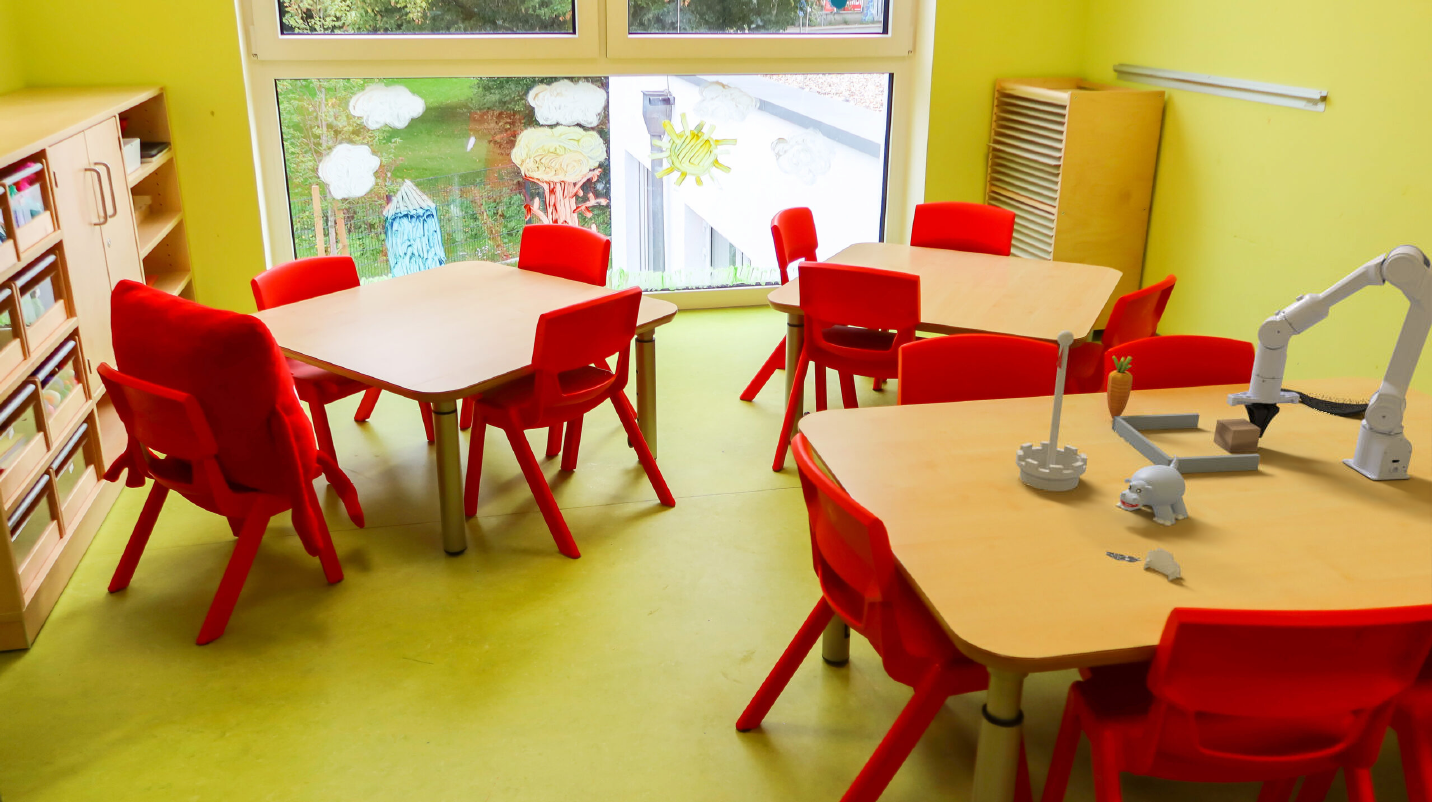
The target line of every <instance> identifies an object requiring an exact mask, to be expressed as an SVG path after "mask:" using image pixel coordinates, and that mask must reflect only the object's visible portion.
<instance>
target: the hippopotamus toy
mask: <svg viewBox="0 0 1432 802" xmlns="http://www.w3.org/2000/svg"><path fill="white" fill-rule="evenodd" d="M1172 456H1173V457H1175V459H1174V461H1173V462H1172V464H1171V465H1170V466H1165V465H1155V464H1154V465H1149V466H1144V467H1141V468H1140V469H1138V470H1137V471H1135V472H1134V474H1133V475H1132V476H1131V477H1130V478H1129V477H1126V478H1124V483H1125V484H1128V483H1129V484H1128V487H1127V489H1125V490H1123V491H1122V492H1120V494H1119V502H1118V503H1116V507H1119V508H1121V509H1122V510H1124V511H1128V512H1133V511H1134V510H1138V509H1140V508H1142V506H1147V505H1148V506H1150V507H1152V509H1153V512H1154V517H1153V519H1152V520H1153V521H1154V522H1156V523H1158V524H1160V525H1164V526H1166V527H1170V526H1171V525H1174V524H1176V520H1179V521H1180V520H1183V519H1186V518H1188V517H1189V514H1188V511H1187V508H1186V505H1185V501H1184V498H1183V496H1184V495H1185V492H1186V482H1185V480H1184V477H1183V476H1182V473H1179V472H1178V471H1177V470H1176V469H1177V467H1178V457H1179V456H1178V455H1176V454H1172Z"/></svg>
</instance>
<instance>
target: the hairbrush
mask: <svg viewBox="0 0 1432 802" xmlns="http://www.w3.org/2000/svg"><path fill="white" fill-rule="evenodd" d="M1280 392H1295V393H1297V394H1298V395H1300V397H1299V400H1301V401H1302V403H1303V404H1305V405H1308V406H1307V407H1309V408H1310V407H1311V408H1312V409H1313V408H1315V409H1317V410H1316V411H1318V410H1319V411H1318V412H1321V411H1323V412H1322V413H1324V412H1327V413H1326V414H1328V413H1330V414H1329V415H1333V414H1334V415H1333V416H1336V415H1338V416H1337V417H1347V416H1355V415H1359V414H1363V413H1365V412H1366V409H1367V408H1368V406H1369V402H1367V401H1368V399H1366V401H1365V399H1362V400H1354V399H1352V400H1351V398H1349V399H1348V400H1347V401H1346V399H1345V398H1341V399H1340V400H1339V398H1338V397H1334V398H1332V400H1331V397H1329V398H1327V396H1326V397H1325V395H1324V394H1323V395H1322V396H1321V395H1317V393H1316V394H1315V396H1311V392H1310V393H1309V394H1308V393H1307V394H1305V393H1304V392H1302V391H1297V390H1294V389H1288V388H1283V387H1281V391H1280ZM1320 396H1321V399H1320ZM1324 397H1325V398H1324ZM1333 400H1334V401H1333ZM1341 400H1343V401H1341ZM1353 401H1354V402H1353ZM1360 402H1361V403H1360ZM1315 409H1314V410H1315Z"/></svg>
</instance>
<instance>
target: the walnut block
mask: <svg viewBox="0 0 1432 802" xmlns="http://www.w3.org/2000/svg"><path fill="white" fill-rule="evenodd" d="M1215 424H1216V425H1215V431H1214V436H1213V443H1214V444H1216V445H1217V446H1219V447H1220V448H1222V449H1223V450H1224V451H1226V452H1228V453H1229V454H1230V453H1250V452H1251V453H1253V452H1257V451H1258V446H1259V440H1260V438H1259V436H1260V430H1261V429H1260V428H1259V427H1257V426H1255V425H1254V424H1252V423H1251V422H1250V421H1249V420H1247V419H1246V418H1245V417H1243V418H1226V419H1225V418H1223V419H1217V420H1216V423H1215Z"/></svg>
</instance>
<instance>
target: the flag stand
mask: <svg viewBox="0 0 1432 802" xmlns="http://www.w3.org/2000/svg"><path fill="white" fill-rule="evenodd" d="M1074 339H1075V337H1074V334H1073V333H1072V332H1071V331H1070V330H1067V329H1066V330H1061V331H1060V332H1059V333H1058V334H1057V338H1056V340H1057V342H1058V343H1057V344H1059V354H1058V358H1057V361H1056V362H1055V365H1056V367H1057V371H1056V380H1055V388H1054V396H1053V397H1054V398H1053V404H1052V414H1051V423H1050V432H1049V438H1048V439H1049V440H1048V441H1047V440H1046V441H1045V440H1041V441H1040V446H1033V445H1034V444H1033V443H1031V442H1026V443H1023V444H1021V445H1020V448H1019V449H1016V452H1015V453H1016V454H1015V465H1016V466H1017V467H1018V468H1019V470H1020V471H1019V479H1020V478H1021V479H1022V480H1023V481H1022V480H1021V479H1020V480H1021V481H1022V483H1024V482H1025V483H1026V484H1025V483H1024V484H1025V485H1027V484H1029V485H1031V486H1033V487H1032V488H1034V487H1035V489H1037V488H1039V489H1038V490H1041V489H1044V490H1043V491H1047V490H1048V492H1049V491H1050V492H1064V491H1065V492H1066V491H1069V490H1073V489H1076V487H1077V486H1078V485H1079V481H1080V476H1082V475H1083V474H1084V473H1086V471H1087V463H1088V455H1087V454H1086V453H1082V452H1081V453H1079V454H1078V451H1079V450H1078V447H1075V446H1073V445H1069V444H1066V445H1064V448H1060V447H1058V442H1059V440H1058V439H1059V433H1060V424H1061V414H1062V407H1063V399H1064V390H1065V383H1066V382H1065V381H1066V374H1067V372H1066V371H1067V363H1068V356H1069V355H1068V354H1069V347H1070V346H1071V345H1072V344H1073V342H1074ZM1029 485H1028V486H1029ZM1031 486H1030V487H1031Z"/></svg>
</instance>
